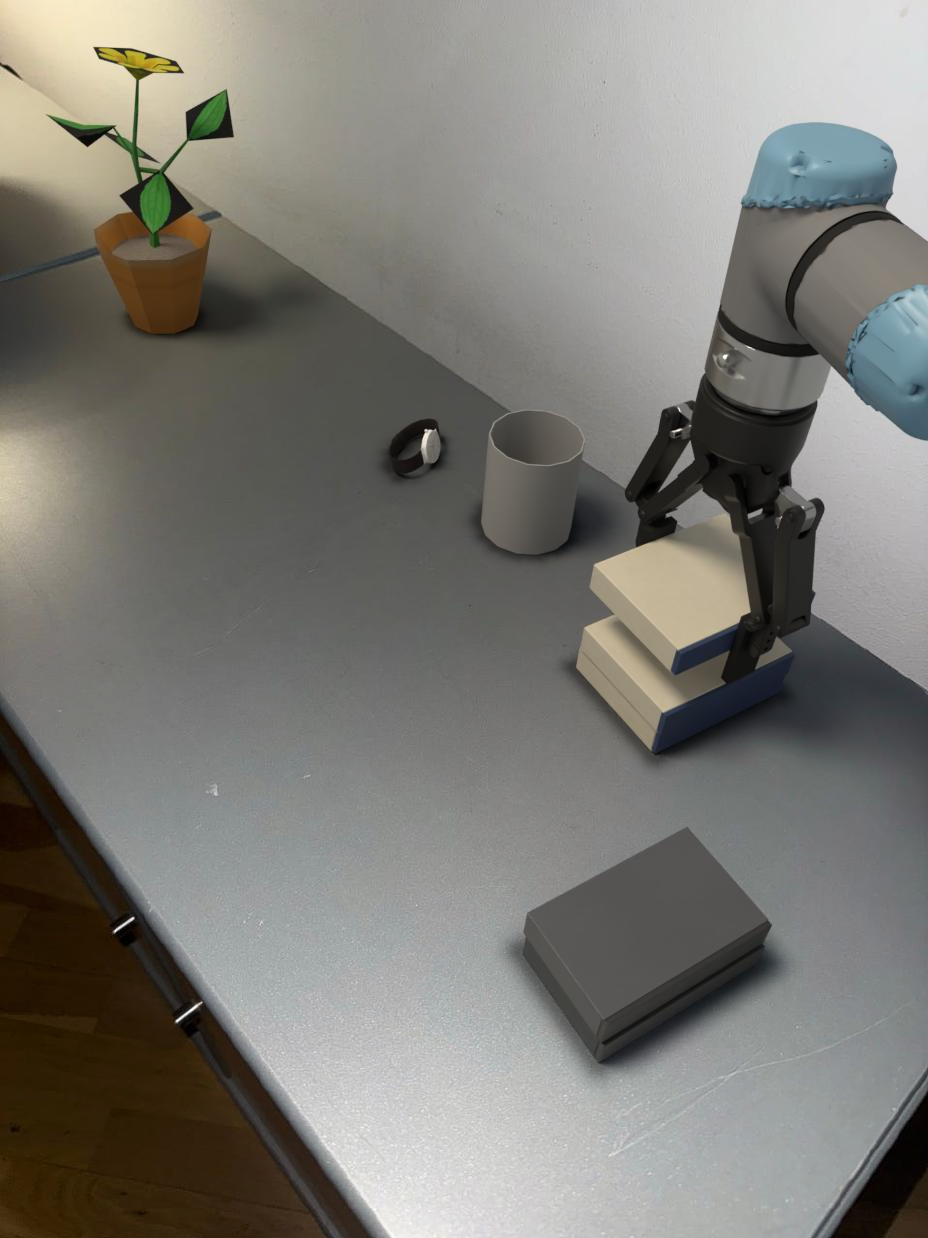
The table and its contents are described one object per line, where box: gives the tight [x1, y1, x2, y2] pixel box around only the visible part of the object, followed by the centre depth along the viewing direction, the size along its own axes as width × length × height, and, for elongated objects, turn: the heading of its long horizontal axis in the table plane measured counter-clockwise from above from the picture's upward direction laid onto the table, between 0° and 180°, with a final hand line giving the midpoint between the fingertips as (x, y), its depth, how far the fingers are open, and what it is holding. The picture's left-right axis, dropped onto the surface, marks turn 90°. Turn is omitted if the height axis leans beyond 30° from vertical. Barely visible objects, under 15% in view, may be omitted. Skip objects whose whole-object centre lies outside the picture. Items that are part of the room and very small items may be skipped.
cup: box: [480, 409, 586, 556], centre depth 98 cm, size 8×8×10 cm
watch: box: [387, 418, 441, 474], centre depth 107 cm, size 8×5×4 cm, turn 159°
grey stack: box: [522, 826, 773, 1063], centre depth 70 cm, size 9×13×5 cm, turn 122°
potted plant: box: [45, 46, 235, 335], centre depth 114 cm, size 18×19×30 cm
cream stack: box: [575, 614, 796, 754], centre depth 87 cm, size 10×13×5 cm
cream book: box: [589, 512, 817, 675], centre depth 82 cm, size 10×13×2 cm
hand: (690, 628), depth 85 cm, fingers closed on cream book, 10 cm apart
